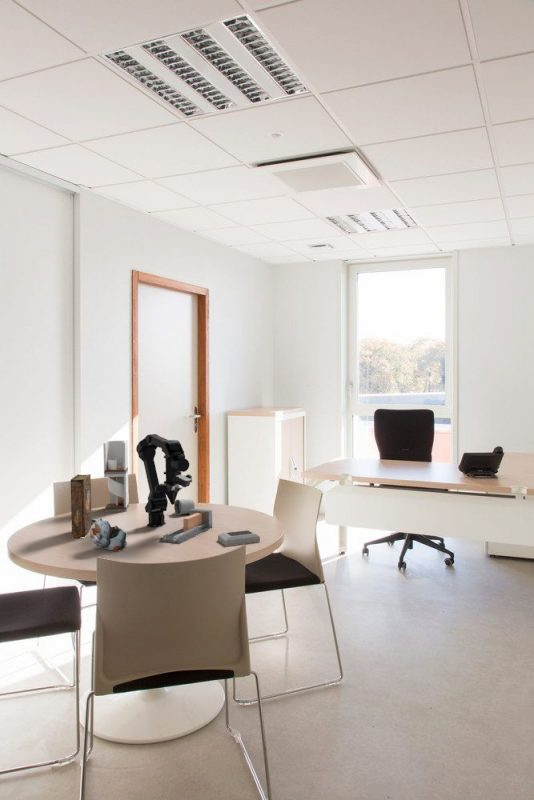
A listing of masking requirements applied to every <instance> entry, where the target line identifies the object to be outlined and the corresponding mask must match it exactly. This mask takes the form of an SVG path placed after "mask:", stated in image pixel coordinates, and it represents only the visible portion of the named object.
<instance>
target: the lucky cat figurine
mask: <svg viewBox="0 0 534 800" xmlns="http://www.w3.org/2000/svg"><path fill="white" fill-rule="evenodd" d="M91 521H92V523H91V529H90V531H89V534H90V535H89V536H90V537H89V538H90V540H91V542H93V543H94V545H96V549H103V550H104V549H105V550H108V551H113V552H120V551H122V550H124V549H125V548H126V547H127V545H128V542H127V539H126V538H127V532H126V531H125V532H124V530H122V528H120V527H118V526H117V525H115V526H111V525H110V522H109V521H108V520H103V519H102V518H98V520H96V519H92V520H91ZM119 550H120V551H119Z"/></svg>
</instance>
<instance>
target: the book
mask: <svg viewBox="0 0 534 800" xmlns="http://www.w3.org/2000/svg"><path fill="white" fill-rule="evenodd" d="M91 479H92V478H91V473H90V474H76V475H75V476H74V477H72V478H70V506H71V507H70V510H71V515H70V516H71V538H72V537H73V538H72V539H81V538H80V537H85V536H86V535H87V536H88V535H89V534H90V532H89V531H90V529H91V523H92V521H91V520H93V519H92V517H93V516H92V480H91ZM87 536H86V537H87ZM86 537H85V538H86Z"/></svg>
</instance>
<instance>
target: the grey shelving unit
mask: <svg viewBox="0 0 534 800" xmlns="http://www.w3.org/2000/svg"><path fill="white" fill-rule="evenodd" d="M128 445H129V443H128V440H106V441H104V442H103V477H104V478H107V490H108V491H109V503H107V504H106V506H105V507H104V512H105V513H112V512H113V513H114V512H115V513H116V512H119V513H120V512H122V513H123V512H127V511H128V509H129V507H130V502H129V501H130V499H129V496H130V495H129V452H128V451H129V450H128V448H129V446H128Z"/></svg>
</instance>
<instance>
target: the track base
mask: <svg viewBox="0 0 534 800" xmlns="http://www.w3.org/2000/svg"><path fill="white" fill-rule="evenodd" d="M195 513H202V524H200V525H198V526H196V527H193V528H191V529H189V530H187V531H185V532H184V528H183V526H182V527H179V528H178V529H175V530H172V531H171V532H169V533H166V534H164V535H162V536H163V537H160V538H158V541H159V542H162V541H165V542H164V543H171V542H175V543H174V544H182V543H184V542H186V541H188V540H190V539H192V538H194V537H196V535H197V536H199V535H200V533H201V534H203V533H205V532H207V531H209V530H211V529H212V528H213V510H212V509H203V508H202V509H201V508H194V509H190V510H189V514H188V516H191V515H193V514H195ZM210 528H211V529H210ZM208 529H209V530H208ZM206 530H207V531H206ZM204 531H205V532H204ZM202 532H203V533H202ZM198 534H199V535H198ZM181 542H182V543H181Z"/></svg>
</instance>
